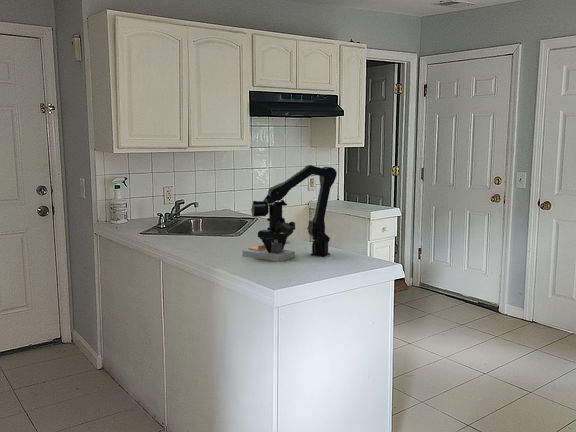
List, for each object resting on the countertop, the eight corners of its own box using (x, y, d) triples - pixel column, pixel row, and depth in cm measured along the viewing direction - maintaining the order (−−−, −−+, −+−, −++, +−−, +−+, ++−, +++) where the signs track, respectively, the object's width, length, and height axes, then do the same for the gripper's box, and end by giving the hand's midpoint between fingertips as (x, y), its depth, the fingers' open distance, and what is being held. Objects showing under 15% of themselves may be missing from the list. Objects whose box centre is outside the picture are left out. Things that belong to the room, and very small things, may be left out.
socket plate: (294, 256, 245) (294, 251, 244) (278, 261, 235) (278, 256, 235) (259, 251, 256) (259, 245, 256) (242, 255, 247) (242, 250, 246)
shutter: (268, 248, 249) (268, 243, 249) (259, 251, 244) (259, 246, 244) (257, 246, 253) (257, 242, 253) (248, 249, 248) (248, 244, 247)
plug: (275, 255, 246) (275, 238, 245) (282, 256, 244) (282, 239, 243) (269, 257, 243) (269, 240, 242) (276, 258, 241) (276, 241, 239)
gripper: (277, 220, 229) (277, 257, 231) (303, 214, 244) (303, 249, 246) (256, 217, 235) (257, 254, 237) (282, 212, 250) (282, 246, 252)
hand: (275, 251), depth 243 cm, fingers open, 9 cm apart
